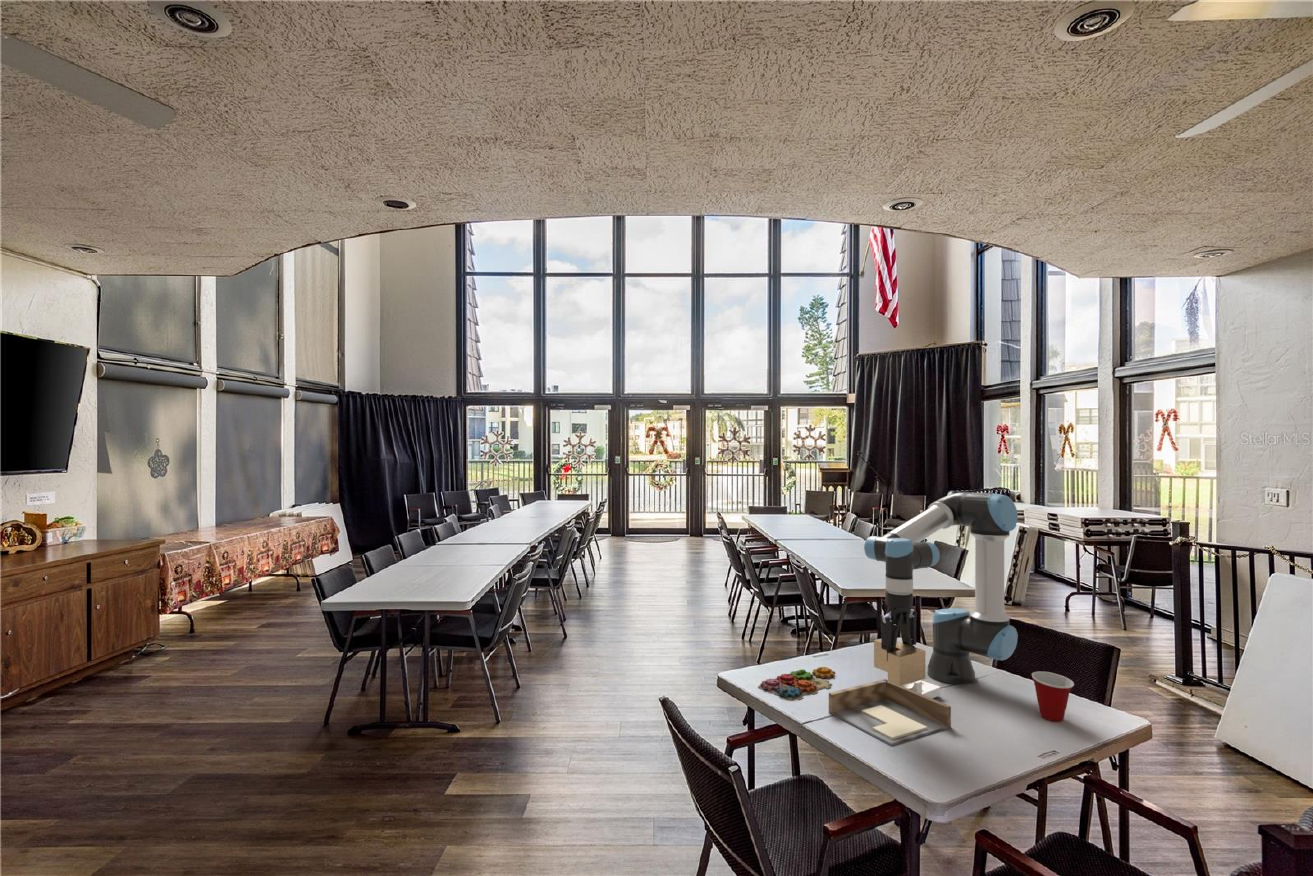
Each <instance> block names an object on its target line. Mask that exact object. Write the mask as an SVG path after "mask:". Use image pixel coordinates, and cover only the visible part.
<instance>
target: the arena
mask: <svg viewBox="0 0 1313 876" xmlns="http://www.w3.org/2000/svg"><path fill="white" fill-rule="evenodd" d="M880 705H882V706H884V707H886V708H888V709H890V710H892V711H894V712H897V713H899V714H901V715H903V716H905V717H907V718H909V719H912V720H914V721H916V722H918V723H920V724H922V725H924V726H927V729H926V730H922V731H919V732H916V733H913V734H909V735H906V736H903V737H899V738H896V739H893V740H892V739H890V738H888V737H886V736H884V735H882V734H880V733H878V732H876V731H874V730H873V727H876V726H879V725H883V724H884V723H882V722H880V721H878V720H876V719H874V718H872V717H870V716H868V715H866V714H864V713H862V710H865V709H868V708H872V707H876V706H880ZM828 713H829V714H830V715H832V716H835V717H836V718H837V719H840V720H842V721H844V722H845V723H847V724H848V725H851V726H853V727H855V728H857V729H859V730H861V731H863V732H865V733H866V734H868V735H870V736H871V737H874V738H876V739H878V740H880V741H881V742H883V743H885V744H887V745H889V746H891V747H893V746H896V745H898V744H902V743H906V742H908V741H911V740H914V739H918V738H921V737H925V736H927V735H931V734H933V733H937V732H942V731H944V730H946V729H950V728H952V706H951V705H948V704H946V703H944V702H941V701H939V700H937V699H935V698H930V697H927V696H925V695H922V694H920V693H918V692H915V691H913V690H910V689H908V688H906V687H903V686H898V685H896V684H893V683H890V682H888V678H887V679H886V678H885V679H881V680H880V679H879V680H876V681H872V682H868V683H865V684H861V685H857V686H852V687H851V686H850V687H848V688H844V689H839V690H835V691H831V692H828Z"/></svg>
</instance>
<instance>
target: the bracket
mask: <svg viewBox="0 0 1313 876" xmlns="http://www.w3.org/2000/svg"><path fill="white" fill-rule="evenodd" d="M902 686H903V687H906V688H908V689H910V690H913V691H915V692H918V693H920V694H922V695H925V696H927V697H930V698H932V699H935V698H937V697H939V696H941V695H942V689H941V688H942V687H941V686H939V685H936V684H933V683H931V682H927V681H924V680H919V681H916V682H912V683H909V684H905V685H902Z"/></svg>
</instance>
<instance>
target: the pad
mask: <svg viewBox="0 0 1313 876" xmlns="http://www.w3.org/2000/svg"><path fill="white" fill-rule="evenodd" d="M862 713H864V714H866V715H868V716H870V717H872V718H874V719H876V720H878V721H880V722H882V723H884V724H883V725H879V726H876V727H873V730H874V731H876V732H878V733H880V734H882V735H884V736H886V737H888V738H890V739H892V740H893V739H896V738H899V737H903V736H906V735H909V734H913V733H916V732H919V731H922V730H926V729H927V726H924V725H922V724H920V723H918V722H916V721H914V720H912V719H909V718H907V717H905V716H903V715H901V714H899V713H897V712H894V711H892V710H890V709H888V708H886V707H884V706H882V705H880V706H876V707H872V708H868V709H865V710H862Z"/></svg>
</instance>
